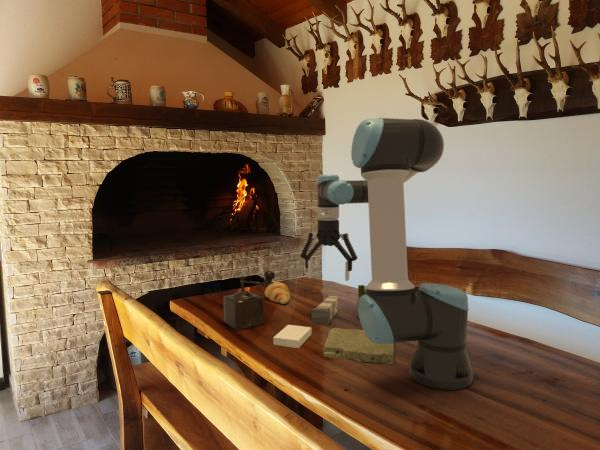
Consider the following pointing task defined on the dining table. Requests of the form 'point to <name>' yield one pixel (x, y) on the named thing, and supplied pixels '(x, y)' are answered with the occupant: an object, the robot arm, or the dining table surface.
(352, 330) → the decorative tile
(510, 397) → the dining table surface
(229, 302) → the dark brown crank device
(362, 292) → the fennel bulb
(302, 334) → the cream flat block
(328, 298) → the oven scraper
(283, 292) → the croissant
